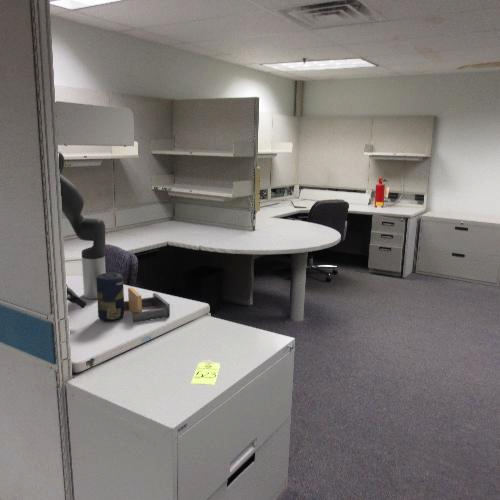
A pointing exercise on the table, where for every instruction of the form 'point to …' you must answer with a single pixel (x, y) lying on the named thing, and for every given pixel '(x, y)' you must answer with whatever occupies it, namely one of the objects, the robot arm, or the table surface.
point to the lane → (160, 312)
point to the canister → (110, 297)
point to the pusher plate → (134, 300)
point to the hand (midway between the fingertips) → (84, 305)
